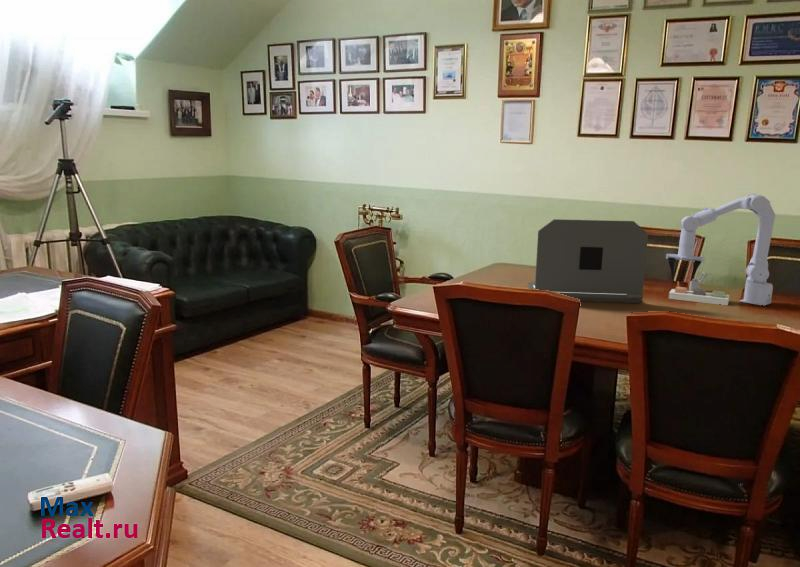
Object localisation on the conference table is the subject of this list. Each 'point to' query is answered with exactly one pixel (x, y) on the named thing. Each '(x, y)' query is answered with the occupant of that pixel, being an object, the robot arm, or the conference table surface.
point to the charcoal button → (699, 292)
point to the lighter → (696, 282)
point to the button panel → (699, 297)
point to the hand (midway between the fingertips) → (682, 277)
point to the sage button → (718, 294)
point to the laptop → (592, 260)
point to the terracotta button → (681, 290)
